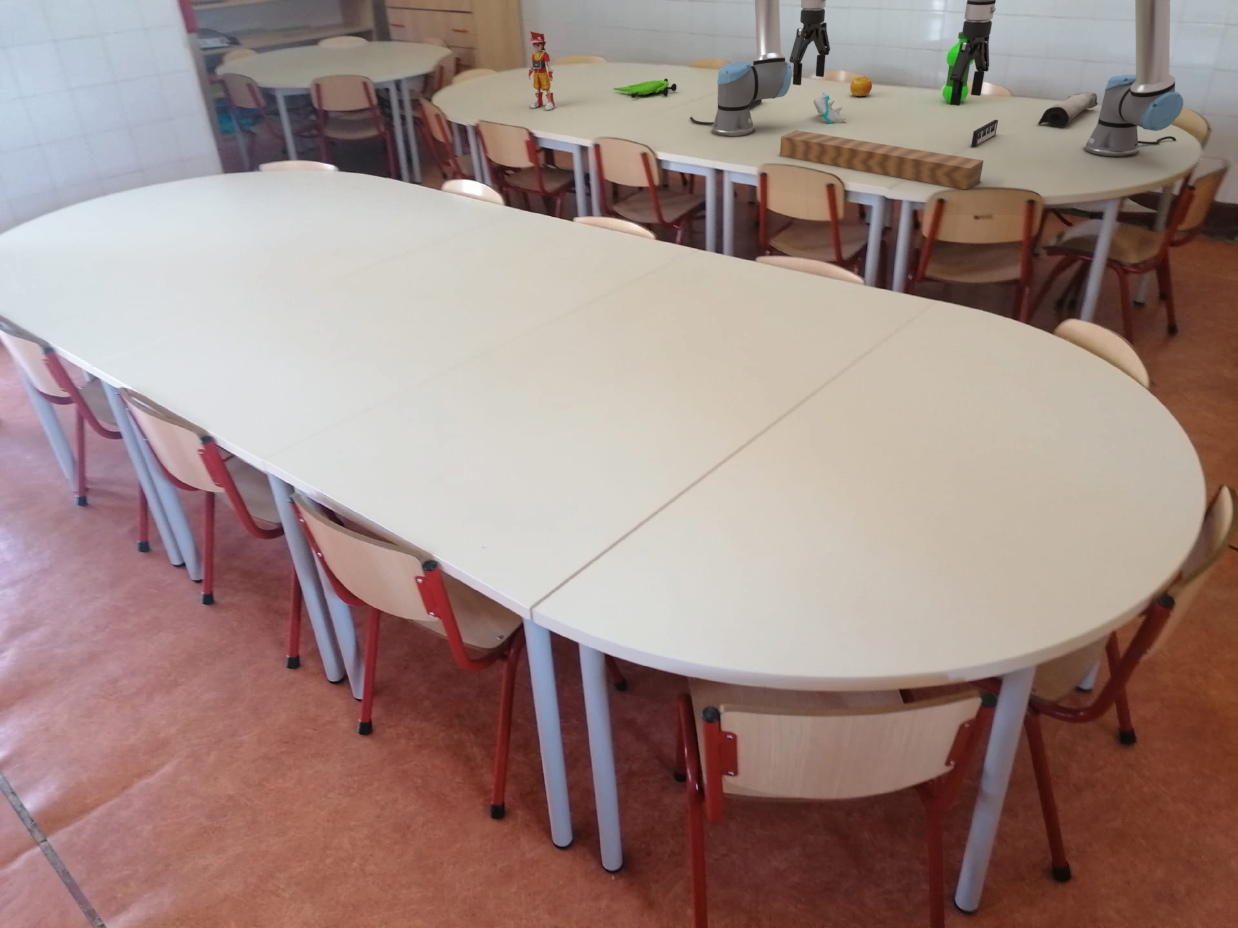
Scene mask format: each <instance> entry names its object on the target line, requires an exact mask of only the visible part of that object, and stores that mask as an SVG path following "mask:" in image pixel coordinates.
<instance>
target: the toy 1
mask: <svg viewBox="0 0 1238 928" xmlns="http://www.w3.org/2000/svg"><path fill="white" fill-rule="evenodd" d="M529 33H530V35H531V36H528V37H527V38H528V39H529V40H528V41H527V43H529V44H530V43H531V44H532V48H533V50H534V51H533V52H532V55H531V58H530V59H531V63H530V66H528V74H527V75H528V76H527V77H528V79H529V80H531V75H532V74H533V84H532V85H533V86H532V87H533V88H534V89H535V90H536V92H534V95H535V97H536V100H535V101H533V102H531V105H530V108H531V109H535V108H538V107H542V106H544V101H543V100H544V99H543V95H544V92H546V94H545V97H546V99H547V103H546V104H545V106H544V110H546V111H549V110H553V109H554V107H555V106H556V105H555V99H554V92H551V91H550V90H551V86H552V84H551V82H552V81H553V80H554V77H553V73H554V71H555V70H554V69H552V68H551V63H550V61H551V59H550V58H551V57H550V54H549V53H548V52H547V50H546V48H545V46H546V44H547V41H545V35H544V33H543V32H542V33H539V32H535V31H529Z"/></svg>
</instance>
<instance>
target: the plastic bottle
mask: <svg viewBox="0 0 1238 928" xmlns="http://www.w3.org/2000/svg"><path fill="white" fill-rule="evenodd" d="M957 39H958V42H957V43H956V44H954V45H953V46H952V47H951V48H950V49H949V50H948V52H947V54H946V63H947V64H948V69H947V70H948V71H947V76H946V77H947V78H946V84H945V85H944V87H943V90H942V97H943V99H944V100H945V101H946V102H947V103H948V104H950V100H951V94H952V87H953V81H950V76H951V73H952V70H953V67H954V64H955V61H956V58H957V55H958V52H959V48H960V44H961V42H963V43H966V40H967V37H966V36H963V35H962V31H959V32H958V36H957ZM974 62H975V61H974V59H973V60H971V62H970V64H969V66H968V68H967V71H966V73H965V75H964V77H963V80H962V81H964V83H963V89H962V95H961V102H963V101H964V100H966V98H967V96H968V95H969V85H968V79H969V73H970V67H971V65H972V64H973V63H974ZM961 102H960V104H961Z"/></svg>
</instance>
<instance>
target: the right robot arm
mask: <svg viewBox="0 0 1238 928" xmlns="http://www.w3.org/2000/svg"><path fill="white" fill-rule="evenodd" d="M996 2H997V0H967V1H966V5H965V9H964V10H965V11H964V17H963V18H964V20H965V21H963V25H962V31H961V32H962V35H963V36H966V37H967V40H966V43H963V42H961V44H960V48H959V52H958V55H957V58H956V61H955V64H954V67H953V70H952V73H951V76H950V81H953V87H952V94H951V100H950V103H949V105H950V106H957V107H959V106H961V103H960V102H962V101H961V95H962V89H963V83H964V81H962V80H963V77H964V75H965V73H966V71H967V68H968V66H969V64H970V62H971V60H973V59H974V61H973V62H974V65H975V71H974V72H973V79H972V85H971V91H970V96H978V97H980V96H982V90H983V83H984V78H985V72H987V73H988V72H989V69H990V46H989V45H990V35H991V31H992V24H993V21H992V19H993V18H994V12H996V10H997V9H996V7H995V6H996ZM1134 3H1135V4H1134V7H1135V8H1134V9H1135V11H1134V12H1135V13H1134V14H1135V15H1134V16H1135V21H1134V22H1135V74H1121V75H1114V76H1111V77H1110V78H1109V79H1108V81H1107V84H1106V86H1105V89H1104V94H1103V98H1102V102H1101V108H1100V111H1099V116H1098V120H1097V124H1096V126H1095V128H1094V130H1092V132H1091V135H1090V136H1089V138H1088V140H1087V142H1086V144H1085V147H1084V149H1085V151H1086V152H1088V153H1090V154H1093V155H1096V156H1101V157H1113V158H1121V157H1129V156H1133V155H1135V154H1137V153H1138V149H1139V145H1140V144H1141V145H1159V144H1160V142H1161V141H1164V140H1169V139H1170V140H1172V141H1173V142H1176V141H1177V139H1176V137H1175V136H1172V135H1167V136H1163V137H1160V138H1158V139H1156V141H1145V140H1144V141H1143V140H1139V137H1138V127H1140V128H1142V129H1143V130H1147V131H1148V130H1149V131H1152V132H1157V131H1163V130H1165V129H1167V128H1168V127H1170V126H1171V125H1172V124H1173V123H1175V121H1176V120H1177V119H1178V118H1179V116H1180V114H1181V113H1182V111H1183V107H1184V98H1183V96H1182V94H1180V92H1178V91H1176V78H1175V77H1174V76H1173V75H1172V74H1171V73H1170V52H1171V51H1170V48H1171V47H1170V45H1171V40H1170V39H1171V38H1170V36H1171V0H1134Z"/></svg>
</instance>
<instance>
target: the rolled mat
mask: <svg viewBox="0 0 1238 928" xmlns="http://www.w3.org/2000/svg"><path fill="white" fill-rule="evenodd" d="M1096 106H1098V94H1096V93H1095V92H1089V91H1085V92H1079V93H1072V94H1070V95H1068V96H1067V98H1066V99H1064V100H1062V101H1059V102H1058V103H1055V104H1054V105H1052V106H1051V107H1048V108H1047V109H1046V110H1044V112H1043V114H1042V115H1041V117H1040V118H1039V121H1038V123H1037V125H1038V126H1039V125H1042V124H1050V125H1051V126H1052V127H1057V128H1064V127H1066V126H1067V125H1068V124H1069V123H1071V121H1072V120H1073V119H1074V118H1075V117H1076V116H1077V115H1079V114H1080V113H1082V112H1083V111H1084V110H1088V109H1093V108H1095V107H1096Z"/></svg>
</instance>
